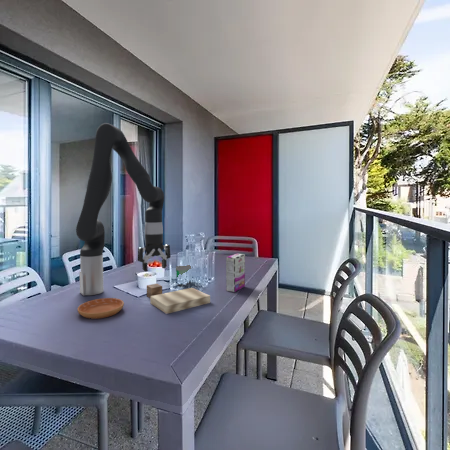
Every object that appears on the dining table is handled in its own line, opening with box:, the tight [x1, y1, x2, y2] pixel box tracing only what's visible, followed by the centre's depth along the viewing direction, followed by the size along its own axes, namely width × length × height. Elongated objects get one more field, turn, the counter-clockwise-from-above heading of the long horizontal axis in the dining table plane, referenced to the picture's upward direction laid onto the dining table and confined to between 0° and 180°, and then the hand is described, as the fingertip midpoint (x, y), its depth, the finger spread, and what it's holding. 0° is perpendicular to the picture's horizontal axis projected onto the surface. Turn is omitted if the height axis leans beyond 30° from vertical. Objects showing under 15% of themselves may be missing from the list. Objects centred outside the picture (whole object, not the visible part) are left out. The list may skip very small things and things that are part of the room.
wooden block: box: [149, 287, 211, 315], centre depth 118 cm, size 20×14×3 cm
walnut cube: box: [146, 283, 163, 299], centre depth 126 cm, size 5×5×5 cm
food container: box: [175, 265, 192, 278], centre depth 147 cm, size 12×6×10 cm, turn 168°
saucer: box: [77, 297, 125, 320], centre depth 108 cm, size 16×16×3 cm
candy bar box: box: [225, 253, 246, 293], centre depth 139 cm, size 11×5×16 cm, turn 150°
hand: (154, 269), depth 125 cm, fingers open, 8 cm apart
